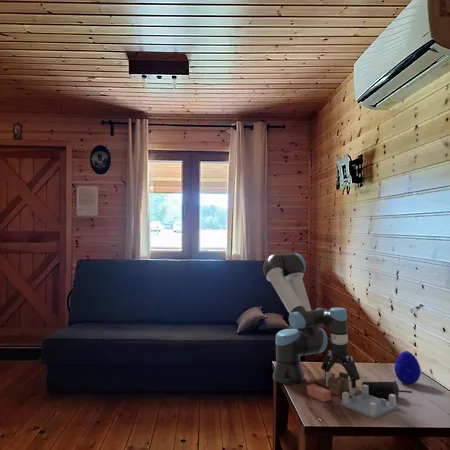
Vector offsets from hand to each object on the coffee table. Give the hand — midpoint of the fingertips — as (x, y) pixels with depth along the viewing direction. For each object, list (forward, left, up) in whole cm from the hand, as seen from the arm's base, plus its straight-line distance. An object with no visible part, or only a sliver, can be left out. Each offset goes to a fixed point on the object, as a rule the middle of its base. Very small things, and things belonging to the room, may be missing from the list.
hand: (340, 390), depth 185 cm
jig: (+18, -4, 0) cm, 18 cm away
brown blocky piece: (-1, 0, 0) cm, 1 cm away
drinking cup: (+8, +6, +2) cm, 10 cm away
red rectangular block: (-1, -13, 0) cm, 13 cm away
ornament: (+13, +32, 0) cm, 34 cm away
